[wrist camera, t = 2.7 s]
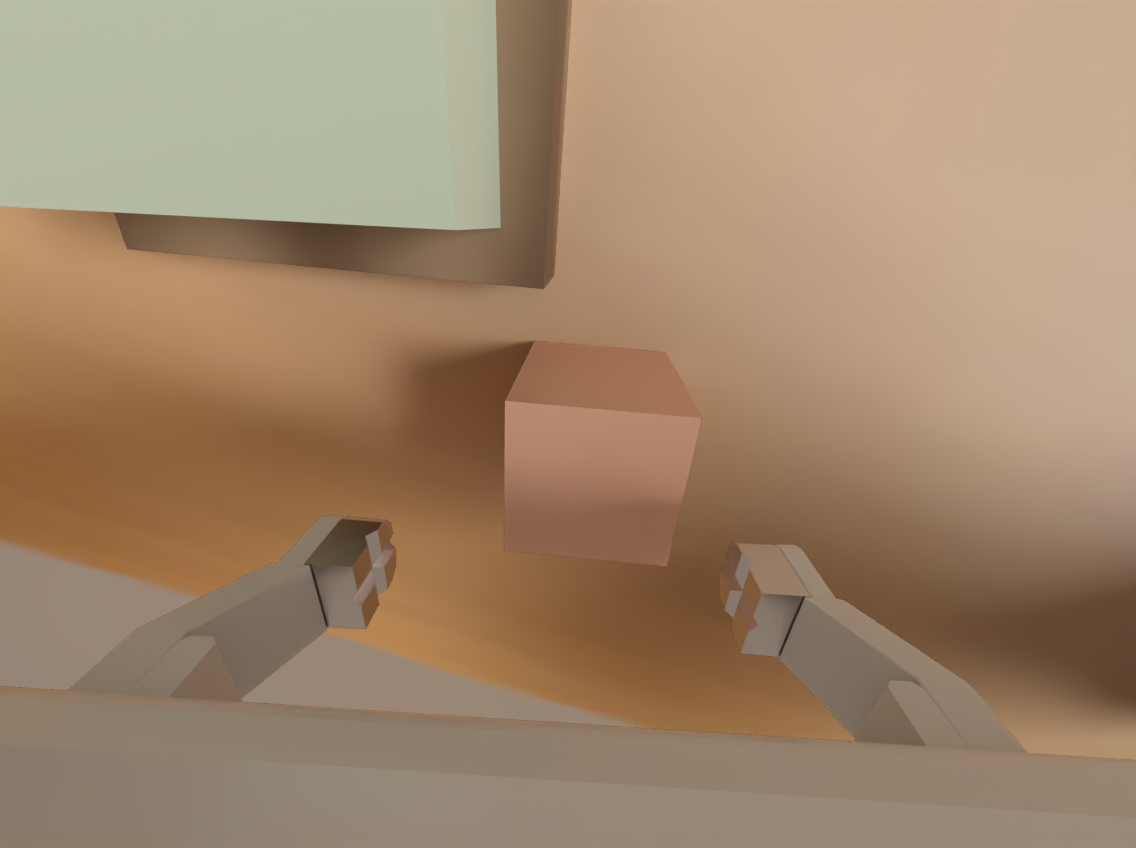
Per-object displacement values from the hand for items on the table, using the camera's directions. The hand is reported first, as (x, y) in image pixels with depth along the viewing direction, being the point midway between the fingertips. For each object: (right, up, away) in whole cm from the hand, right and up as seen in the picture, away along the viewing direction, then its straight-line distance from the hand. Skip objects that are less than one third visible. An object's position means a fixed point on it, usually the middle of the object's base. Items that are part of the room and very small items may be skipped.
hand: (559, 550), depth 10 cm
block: (+1, +4, +7) cm, 8 cm away
